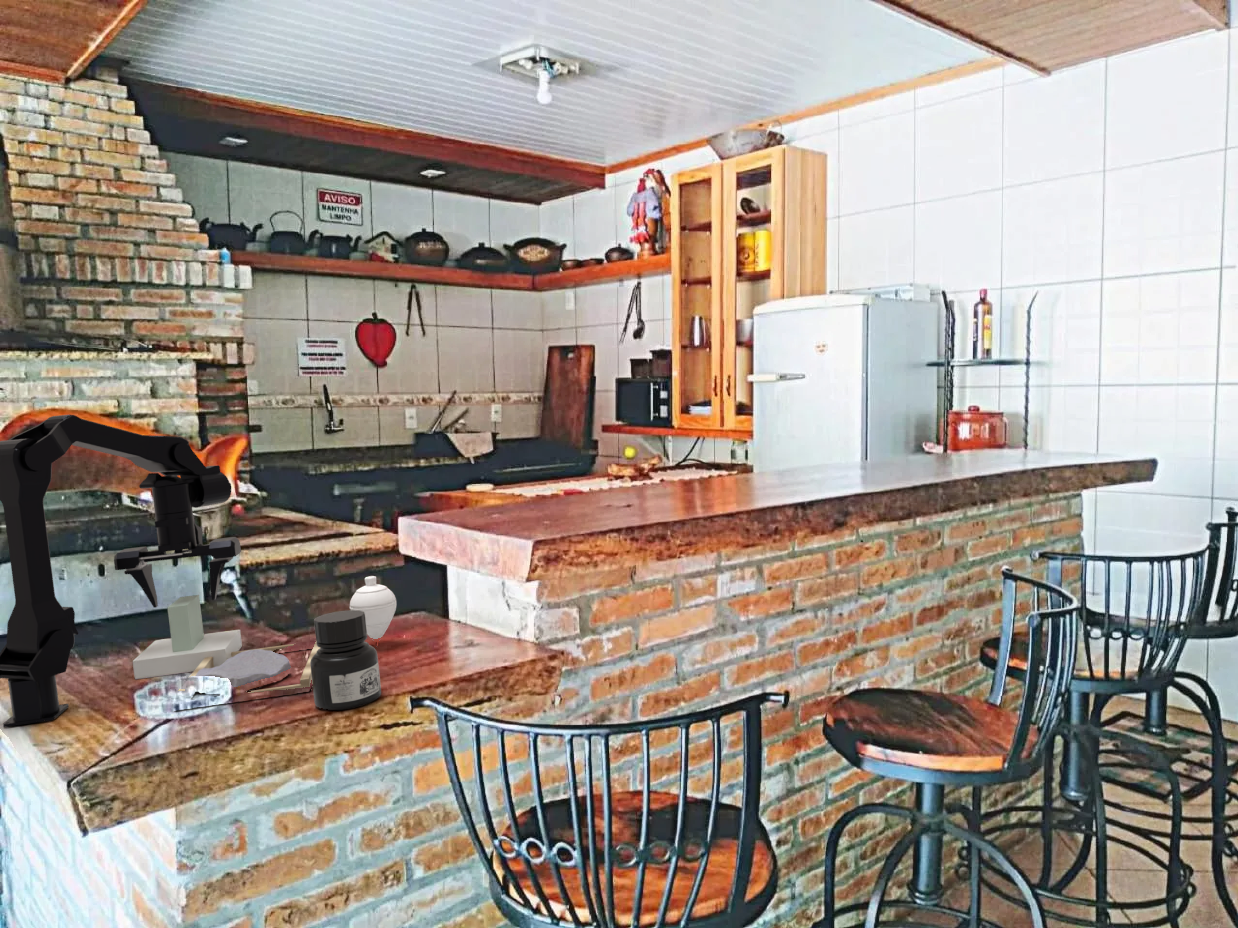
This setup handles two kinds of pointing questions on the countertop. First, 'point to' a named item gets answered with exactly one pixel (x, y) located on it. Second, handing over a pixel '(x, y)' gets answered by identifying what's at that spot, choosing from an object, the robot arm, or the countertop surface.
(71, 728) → the countertop surface
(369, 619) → the spinning top
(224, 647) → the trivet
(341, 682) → the ink bottle
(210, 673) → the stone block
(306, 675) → the rack
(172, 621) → the rectangular block
